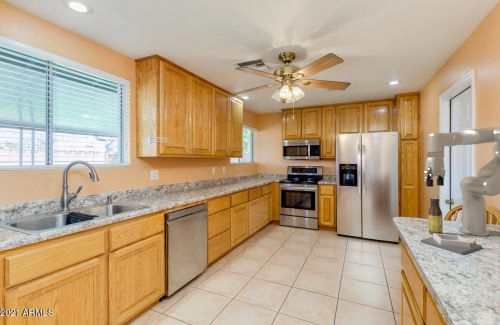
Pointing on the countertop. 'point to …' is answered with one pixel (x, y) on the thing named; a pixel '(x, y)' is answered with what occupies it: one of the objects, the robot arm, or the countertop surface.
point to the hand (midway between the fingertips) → (435, 186)
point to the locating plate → (451, 248)
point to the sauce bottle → (435, 217)
